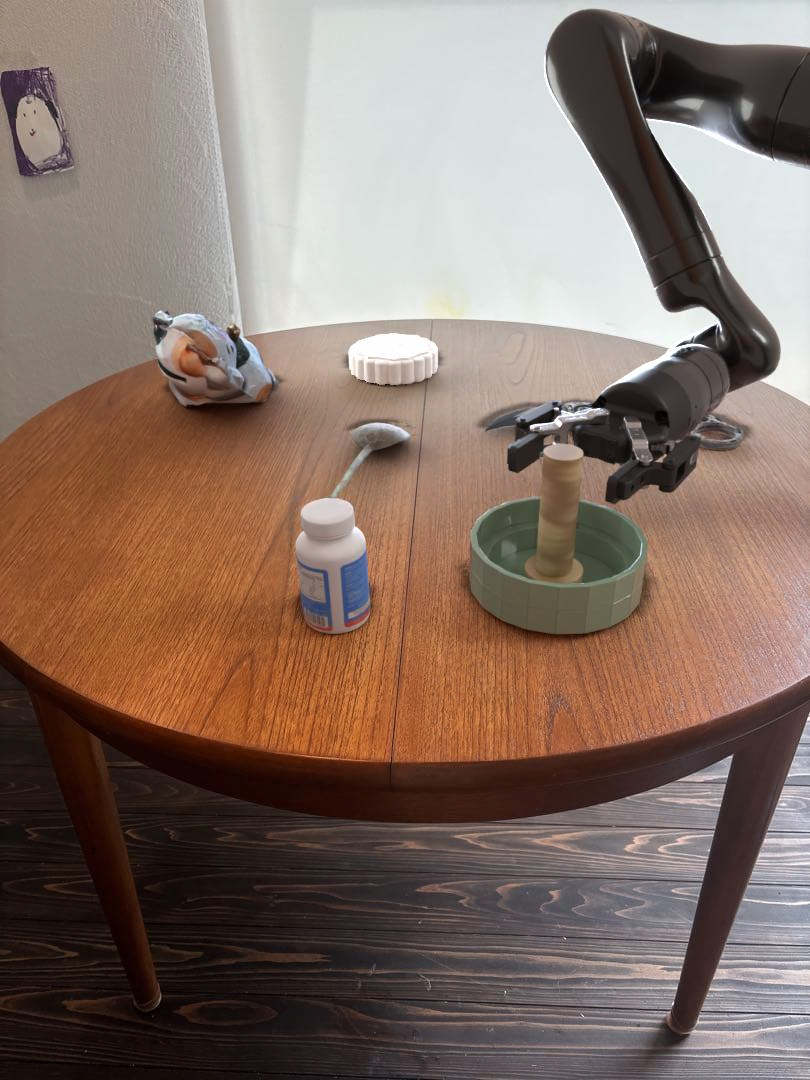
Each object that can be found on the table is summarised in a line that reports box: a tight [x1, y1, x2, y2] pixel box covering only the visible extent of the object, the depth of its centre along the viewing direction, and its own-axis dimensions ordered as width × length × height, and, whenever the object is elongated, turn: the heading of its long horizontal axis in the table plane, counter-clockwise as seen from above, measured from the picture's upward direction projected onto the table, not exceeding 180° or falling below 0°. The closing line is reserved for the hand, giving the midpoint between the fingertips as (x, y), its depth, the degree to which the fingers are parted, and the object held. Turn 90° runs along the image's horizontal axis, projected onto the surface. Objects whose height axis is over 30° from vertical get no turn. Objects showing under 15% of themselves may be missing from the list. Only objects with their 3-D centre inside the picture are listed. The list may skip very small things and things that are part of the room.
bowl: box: [468, 496, 649, 635], centre depth 71 cm, size 14×14×5 cm
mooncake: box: [348, 332, 439, 386], centre depth 117 cm, size 12×12×4 cm
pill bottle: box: [295, 497, 371, 635], centre depth 67 cm, size 6×5×10 cm
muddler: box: [524, 443, 584, 584], centre depth 69 cm, size 5×5×12 cm
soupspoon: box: [326, 422, 411, 499], centre depth 90 cm, size 22×3×7 cm
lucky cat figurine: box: [151, 309, 279, 406], centre depth 106 cm, size 15×12×14 cm
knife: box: [483, 400, 745, 451], centre depth 99 cm, size 28×2×10 cm
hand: (559, 476), depth 66 cm, fingers open, 8 cm apart
